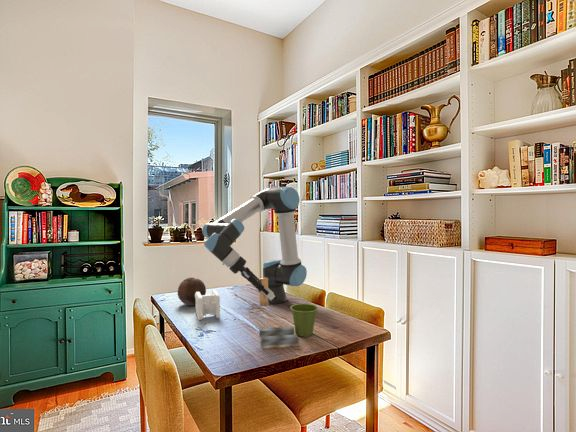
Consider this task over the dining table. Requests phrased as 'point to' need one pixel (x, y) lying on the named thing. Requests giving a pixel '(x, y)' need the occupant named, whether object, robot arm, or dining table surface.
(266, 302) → the copper pin
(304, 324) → the plant pot
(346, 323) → the dining table surface
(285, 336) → the notch board
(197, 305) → the cable organizer
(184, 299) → the wooden sphere
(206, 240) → the robot arm
